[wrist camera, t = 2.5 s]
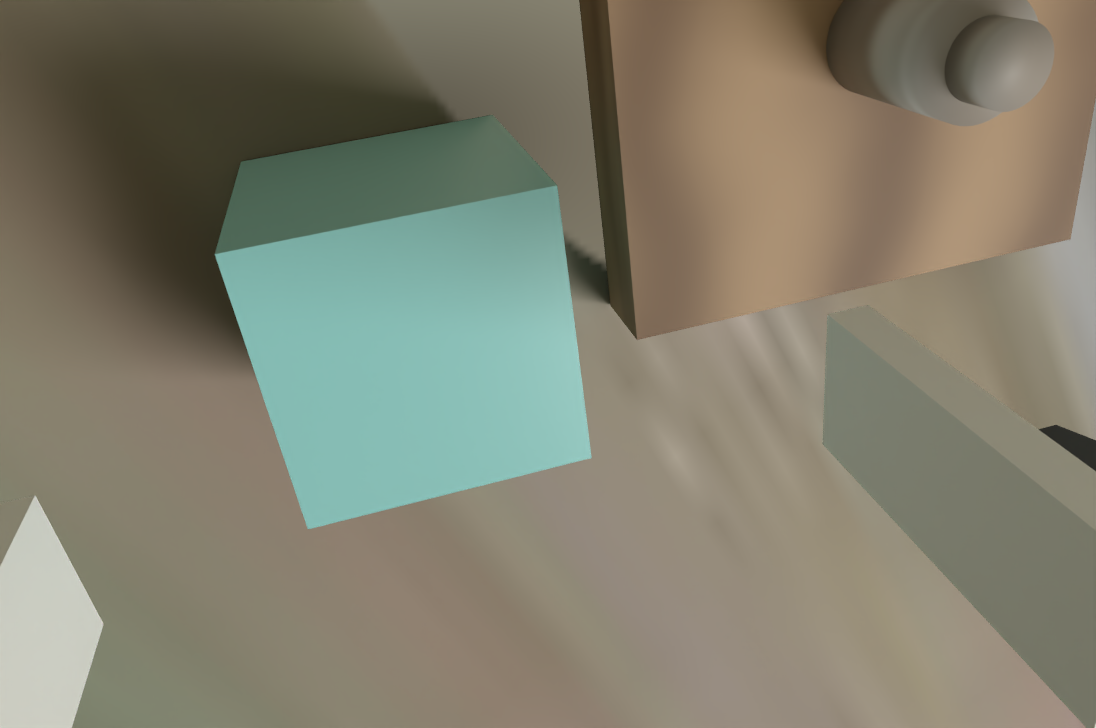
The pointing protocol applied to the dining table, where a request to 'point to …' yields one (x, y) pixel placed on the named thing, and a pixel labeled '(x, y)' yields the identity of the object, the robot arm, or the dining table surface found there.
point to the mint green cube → (406, 315)
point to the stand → (827, 143)
